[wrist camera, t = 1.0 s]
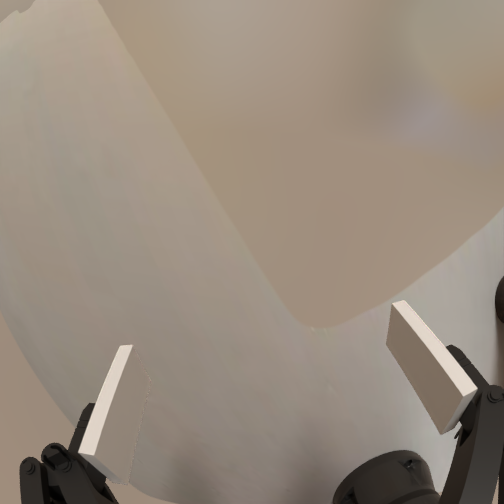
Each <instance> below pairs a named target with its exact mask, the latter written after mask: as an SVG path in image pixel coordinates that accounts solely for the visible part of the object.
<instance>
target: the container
mask: <svg viewBox="0 0 504 504" xmlns="http://www.w3.org/2000/svg"><path fill="white" fill-rule="evenodd" d="M496 310H497V314H498V316H499V318H500V320H501V321H502V322H503V323H504V277H503V278H502V279H501V281H500V282H499V285H498V288H497V292H496Z"/></svg>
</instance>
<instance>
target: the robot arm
mask: <svg viewBox="0 0 504 504" xmlns="http://www.w3.org/2000/svg"><path fill="white" fill-rule="evenodd" d="M386 345H387V347H388V348H389V350H390V351H391V353H392V354H393V356H394V357H395V359H396V361H397V362H398V364H399V365H400V367H401V369H402V370H403V372H404V373H405V375H406V377H407V378H408V380H409V381H410V383H411V385H412V386H413V388H414V390H415V391H416V393H417V395H418V396H419V398H420V400H421V401H422V403H423V405H424V407H425V408H426V410H427V412H428V413H429V415H430V417H431V419H432V420H433V422H434V424H435V426H436V428H437V429H438V431H439V433H440V435H442V434H444V433H446V432H448V431H450V430H452V429H453V428H455V426H456V425H457V423H458V422H459V421H460V423H461V424H462V426H461V428H460V429H459V431H458V432H457V433H456V435H455V437H454V439H456V438H457V437H458V435H459V437H458V441H457V445H456V449H455V453H454V457H453V460H452V464H451V467H450V471H449V474H448V477H447V480H446V483H445V486H444V489H443V492H442V495H441V496H440V495H439V494H438V493H437V492H436V491H435V488H434V484H433V480H432V477H431V473H430V469H429V466H428V465H427V463H426V462H425V461H424V460H423V458H422V457H421V456H420V455H418V454H417V453H415V452H412V451H407V450H399V451H393V452H389V453H385V454H382V455H380V456H378V457H375V458H373V459H371V460H369V461H367V462H366V463H364V464H362V465H361V466H359V467H358V468H357V469H355V470H354V471H353V472H352V473H351V474H349V475H348V476H347V477H346V478H345V479H344V480H343V482H342V483H341V484H340V486H339V487H338V489H337V491H336V493H335V496H334V504H492V500H493V496H494V492H495V488H496V484H497V480H498V475H499V492H498V504H504V389H502V388H501V387H500V386H497V385H489V384H488V383H487V381H486V380H485V379H484V378H483V376H482V375H481V374H480V373H479V371H478V370H477V369H476V368H475V366H474V365H473V364H471V362H470V360H469V359H468V358H466V356H465V354H464V353H463V352H462V351H461V350H460V349H459V348H457V347H455V346H453V345H449V346H447V347H445V346H444V345H443V344H442V343H441V342H440V340H439V339H438V338H437V337H436V336H435V334H434V333H433V332H432V331H431V330H430V329H429V327H428V326H427V325H426V324H425V323H424V322H423V321H422V319H421V318H420V317H419V316H418V315H417V314H416V313H415V311H414V310H413V309H412V308H411V307H410V306H409V305H408V304H407V303H406V301H405V300H403V301H399V302H395V303H392V307H391V314H390V322H389V328H388V335H387V341H386ZM150 385H151V380H150V378H149V376H148V374H147V372H146V370H145V369H144V367H143V365H142V363H141V361H140V359H139V356H138V354H137V352H136V350H135V348H134V346H133V345H122V346H120V347H119V349H118V352H117V354H116V356H115V358H114V361H113V363H112V365H111V368H110V370H109V372H108V375H107V377H106V380H105V382H104V384H103V387H102V389H101V392H100V394H99V397H98V399H97V402H96V403H89V404H88V405H87V406H86V408H85V409H84V410H83V412H82V414H81V417H80V419H79V420H80V421H79V422H78V424H77V428H76V429H75V432H74V435H73V437H72V440H71V443H70V445H69V449H68V450H67V449H66V448H65V447H64V446H63V445H61V444H59V443H51V444H49V445H47V446H46V447H45V449H44V450H43V451H42V454H41V460H42V462H44V463H40V462H39V461H38V460H37V459H36V458H34V457H28V458H26V459H24V460H23V461H22V463H21V465H20V491H21V502H22V504H119V503H118V502H117V500H116V499H115V497H114V495H113V494H112V492H111V490H110V489H109V487H108V486H107V484H106V483H105V481H106V478H108V479H109V480H110V481H112V482H113V483H118V484H124V485H128V482H129V477H130V472H131V467H132V462H133V457H134V452H135V447H136V443H137V438H138V434H139V430H140V425H141V421H142V417H143V413H144V409H145V405H146V401H147V397H148V393H149V389H150Z"/></svg>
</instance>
